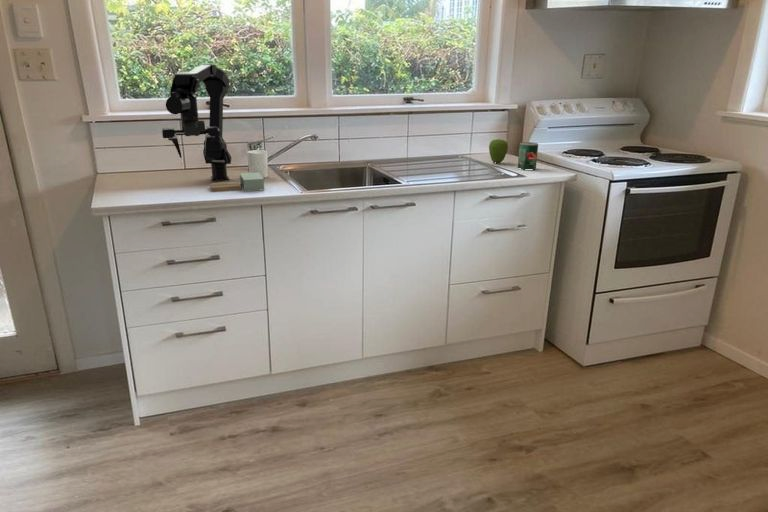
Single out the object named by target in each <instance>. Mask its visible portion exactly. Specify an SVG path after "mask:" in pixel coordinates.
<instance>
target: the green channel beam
mask: <svg viewBox="0 0 768 512" xmlns="http://www.w3.org/2000/svg"><path fill="white" fill-rule="evenodd" d="M239 180H240V182H239V184H240V185H241V184H244V185H243V190H244V192H248V190H253V191H261V190H260V189H264V190H265V178H263V177H262V176H261V175H260V174H259V173H250V172H249V173H248V172H246V173H245V172H244V173H242V172H241V173H239Z"/></svg>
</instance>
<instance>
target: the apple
mask: <svg viewBox="0 0 768 512" xmlns="http://www.w3.org/2000/svg"><path fill="white" fill-rule="evenodd" d="M508 148H509V144H508V142H507V141H506V140H505V139H501V138H498V139H492V140H491V141H490V143H489V145H488V150H489V151H488V153H489V155H490V159H491V161H492V163H494V162H496V163H499V164H501V163H502V162H503V161H504V160H505V157H506V155H507V153H508ZM500 162H501V163H500Z"/></svg>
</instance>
